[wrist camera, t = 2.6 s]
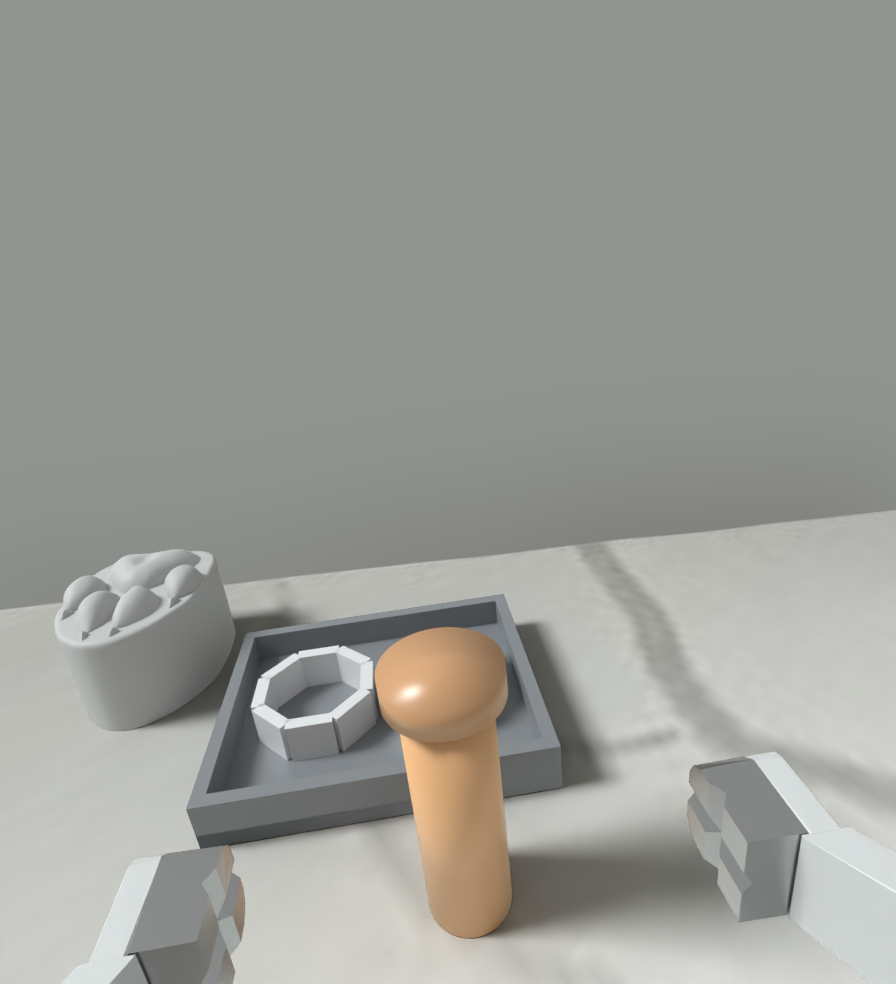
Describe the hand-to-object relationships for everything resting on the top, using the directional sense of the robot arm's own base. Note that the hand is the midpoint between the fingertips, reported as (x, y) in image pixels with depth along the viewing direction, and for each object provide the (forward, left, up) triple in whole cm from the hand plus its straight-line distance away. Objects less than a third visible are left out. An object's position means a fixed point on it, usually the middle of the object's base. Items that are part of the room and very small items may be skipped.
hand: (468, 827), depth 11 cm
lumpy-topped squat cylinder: (-19, -36, -20) cm, 45 cm away
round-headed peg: (-11, -6, -19) cm, 23 cm away
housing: (-20, -16, -19) cm, 32 cm away
